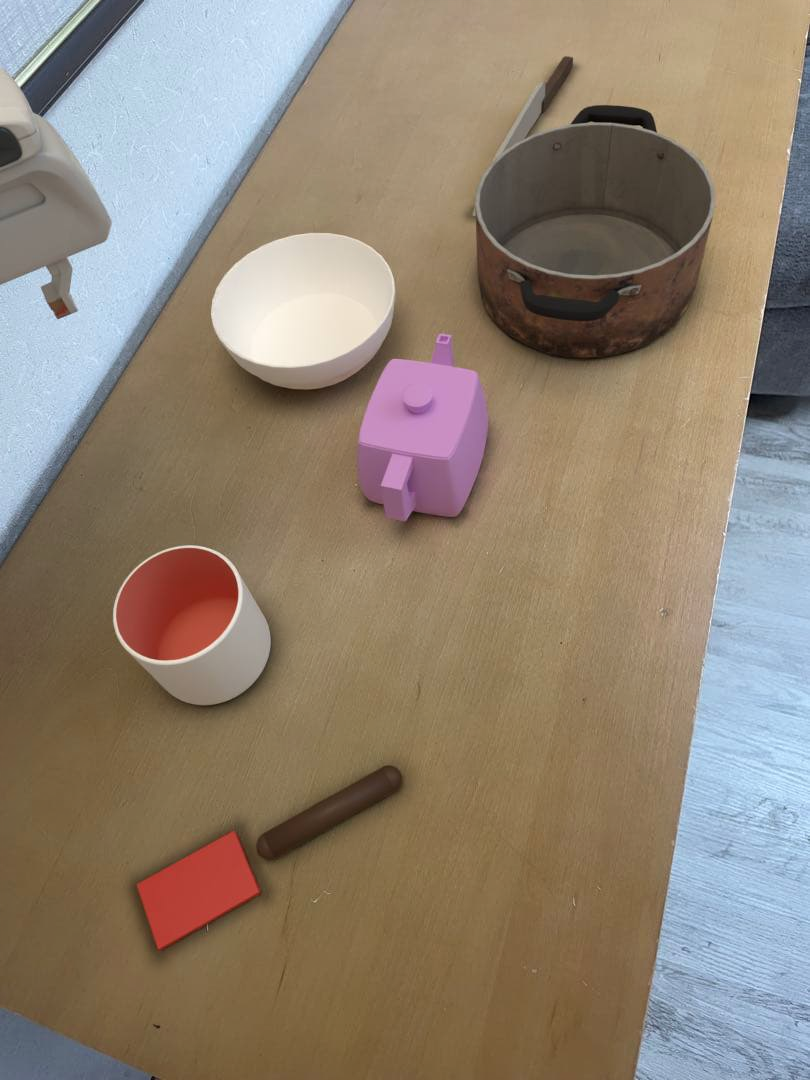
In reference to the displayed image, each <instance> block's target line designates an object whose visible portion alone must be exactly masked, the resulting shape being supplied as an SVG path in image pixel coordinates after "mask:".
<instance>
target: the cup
mask: <svg viewBox="0 0 810 1080" xmlns="http://www.w3.org/2000/svg"><path fill="white" fill-rule="evenodd" d="M112 623H113V629H114V632H115V635H116V637H117V640H118V641H119V643H120V645H121V646H122V648H123V649H124V650H125V651H126V652H127V653H128V654H129V655H131V656H132V658H133V659H134V660H135V661H136V662H137V663H138V664H139V665H140V666H142V668H144V669H145V671H147V673H148V674H149V675H150V676H151V677H153V679H154V680H155V681H156V682H157V683H158V684H159V685H160V686H161V687H162V688H163V689H164V690H165V691H167V693H168V694H170V695H171V696H173V697H174V698H176V699H178V700H180V701H182V702H184V703H187V704H190V705H191V704H192V705H196V706H213V705H217V704H221V703H225V702H228V701H230V700H232V699H235V698H236V697H238V696H240V695H241V694H243V693H244V692H245V691H247V690H248V689H249V688H250V687H252V685H253V684H254V683H255V682H256V681H257V680H258V678H259V677H260V676H261V675H262V673H263V671H264V669H265V667H266V665H267V662H268V659H269V657H270V653H271V647H272V646H271V645H272V644H271V643H272V642H271V641H272V640H271V631H270V627H269V624H268V622H267V619H266V617H265V615H264V614H263V612H262V610H261V609H260V607H259V604H257V602H256V600H255V598H254V597H253V595H252V593H251V592H250V590H249V588H248V586H247V585H246V583H245V581H244V579H243V578H242V576H241V575H240V573H239V571H238V569H237V568H236V566H235V565H234V564H233V562H232V561H231V560H230V559H229V558H227V557H226V556H225V555H224V554H222V553H221V552H219V551H217V550H214V549H212V548H209V547H206V546H201V545H193V544H192V545H191V544H189V545H179V546H177V545H176V546H174V547H168V548H166V549H163V550H161V551H158V552H156V553H154V554H153V555H151V556H149V557H148V558H146V559H144V560H143V561H142V562H140V563H139V564H138V565H137V566H136V567H135V568H134V569H133V570H132V571H131V572H130V573H129V574H128V576H127V577H126V578H125V580H123V582H122V584H121V585H120V588H119V590H118V592H117V594H116V597H115V600H114V604H113V610H112Z"/></svg>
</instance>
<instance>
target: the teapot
mask: <svg viewBox="0 0 810 1080" xmlns="http://www.w3.org/2000/svg"><path fill="white" fill-rule="evenodd" d="M452 337H453V336H452V334H448V333H447V334H445V333H439V334H438V335H437V338H436V341H435V345H434V349H433V353H432V356H431V360H430V362H425V361H421V360H420V361H418V360H412V359H411V360H410V359H403V358H402V359H401V358H392V359H391V360H390V361H389V362H388V363H387V364H386V366H385V367H384V369H383V371H382V373H381V375H380V377H379V379H378V381H377V383H376V385H375V387H374V390H373V391H372V394H371V396H370V399H369V402H368V404H367V406H366V410H365V413H364V416H363V419H362V422H361V424H360V425H361V426H360V429H359V433H358V441H357V473H358V480H359V486H360V488H361V491H362V493H363V495H364V496H365V497H366V498H367V499H368V501H369V502H373V503H376V504H380V505H383V507H384V513H385V514H384V515H385V518H387V519H393V520H396V521H397V520H398V521H402V522H406V521H407V520H408V518H409V517H410V515H411V514H412V512H416V513H422V514H426V515H433V516H439V517H446V518H456V517H458V515H459V514H460V513H461V511H462V510H463V508H464V507H465V505H466V503H467V501H468V498H469V496H470V495H471V494H470V493H471V491H472V489H473V487H474V484H475V481H476V479H477V477H478V474H479V471H480V468H481V465H482V462H483V457H484V454H485V449H486V443H487V437H488V430H489V414H488V413H489V412H488V405H487V399H486V396H485V395H486V394H485V392H484V389H483V386H482V382H481V380H480V377H479V374H478V372H477V371H476V370H472V369H467V368H463V367H458V366H457V367H456V366H455V365H454V363H455V362H454V351H453V350H454V349H453V338H452Z"/></svg>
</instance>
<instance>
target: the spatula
mask: <svg viewBox="0 0 810 1080" xmlns="http://www.w3.org/2000/svg"><path fill="white" fill-rule="evenodd" d="M402 782H403V775H402V772H401V771H400V769H399V768H398V767H397V766H394V765H391V764H389V765H388V764H387V765H384V766H381V767H380V768H378V769H376V770H374V771H373V772H371V773H369V774H367V775H365V776H364V777H361V778H360V779H358V780H356V781H355V782H353V783H351V784H349V785H347V786H346V787H343V788H342V789H340V790H339V791H337V792H335V793H333V794H331V795H329V796H327V797H326V798H324V799H322V800H320V801H318V802H317V803H315V804H314V805H312V806H310V807H308V808H307V809H305V810H303V811H301V812H299V813H297V814H296V815H294V816H292V817H290V818H288V819H287V820H285V821H283V822H281V823H279V824H278V825H276V826H274V827H272V828H271V829H270V828H269V830H267V831H265V832H263V833H262V834H260V836H259V837H258V839H257V840H256V844H255V849H256V853H257V854H258V856H259V857H260V858H261V859H263V860H265V861H273V860H276V859H277V858H279V857H281V856H282V855H284V854H286V853H288V852H290V851H291V850H293V849H295V848H297V847H298V846H301V845H302V844H305V842H308V841H309V840H311V839H313V838H315V837H316V836H318V835H320V834H323V832H325V831H327V830H329V829H331V828H332V827H334V826H336V825H338V824H339V823H341V822H343V821H344V820H347V819H349V818H350V817H352V816H354V815H355V814H357V813H359V812H360V811H363V810H364V809H366V808H368V807H370V806H371V805H373V804H374V803H377V802H378V801H380V800H382V799H383V798H385V797H387V796H389V795H391V794H392V793H395V792H396V791H397V790H399V788H400V787H401V785H402ZM136 887H137V890H138V893H139V897H140V900H141V902H142V905H143V908H144V911H145V914H146V917H147V920H148V924H149V927H150V930H151V933H152V936H153V939H154V942H155V945H156V948H157V950H158V951H162V950H164V949H166V948H168V947H170V946H172V945H173V944H175V943H176V942H178V941H181V939H184V938H186V937H187V936H189V935H191V934H192V933H194V932H196V931H197V930H200V929H201V928H203V927H205V926H206V925H208V924H210V923H212V922H214V921H215V920H217V919H219V918H221V917H222V916H224V915H226V914H227V913H229V912H231V911H233V910H235V909H236V908H238V907H240V906H242V905H244V904H245V903H247V902H248V901H250V900H252V899H254V898H256V897H258V896H259V895H260V894H262V892H261V889H260V886H259V884H258V881H257V879H256V877H255V874H254V871H253V869H252V866H251V864H250V861H249V859H248V856H247V854H246V852H245V850H244V846H243V844H242V842H241V839H240V836H239V834H238V832H237V831H236V830H232V831H230V832H229V833H226V834H224V835H223V836H221V837H220V838H218V839H215V840H214V841H212V842H210V843H209V844H207V845H205V846H203V847H202V848H200V849H198V850H196V851H194V852H192V853H190V854H189V855H187V856H185V857H183V858H181V859H180V860H178V861H176V862H174V863H173V864H170V865H169V866H166V867H165V868H163V869H162V870H160V871H158V872H156V873H154V874H153V875H151V876H149V877H147V878H146V879H144V880H142V881H140V882H138V883H136Z"/></svg>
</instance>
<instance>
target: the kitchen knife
mask: <svg viewBox="0 0 810 1080" xmlns="http://www.w3.org/2000/svg"><path fill="white" fill-rule="evenodd" d="M573 65H574V57H572V56H567V55H565V56H563V57H562V59H561V60H560V61H559V63H558V65H557V66H556V68H555V69H554V70H553V73H552V74H551V76H550V77H549V79H548V80H547V81H546V83H544V82H540V81H539V82H538V83H537V84H536V86H535V88H534V89H533V90H532V92H531V94H530V96H529V98H528V99H527V101H526V103H525V105H524V106H523V107H522V109H521V111H520V112H519V114H518V116H517V118H516V119H515V121H514V124H513V125H512V127H511V128H510V130H509V132H508V133H507V135H506V137H505V138H504V140H503V142H502V143H501V145H500V147H499V148H498V150H497V152H496V154H494V155H495V156H494V157H493V160H492V161H491V163H492V162H493V161H494V160H495V159H496V158H497V157H498V156H499V155H500V154H501V153H503V152H504V151H505V150H507V149H508V148H510V147H511V146H513V145H514V144H516V143H517V142H519V141H521V140H523V139H525V138H527V135H528V133H529V132H530V130H531V129H532V128H533V127H534V125H535V123H536V122H537V120H538V118H539V117H540V115H541V113H545V111H546V110H547V108H548V106H549V105H550V103H551V101H552V100H553V98H554V97H555V95H556V94H557V92H558V91H559V89H560V88H561V87H562V84H563V83H564V82H565V80H566V78H567V77H568V75H570V72H571V70H572V68H573ZM471 216H472V217H475V218H476V213H475V207H474V208H473V211H472V215H471Z"/></svg>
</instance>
